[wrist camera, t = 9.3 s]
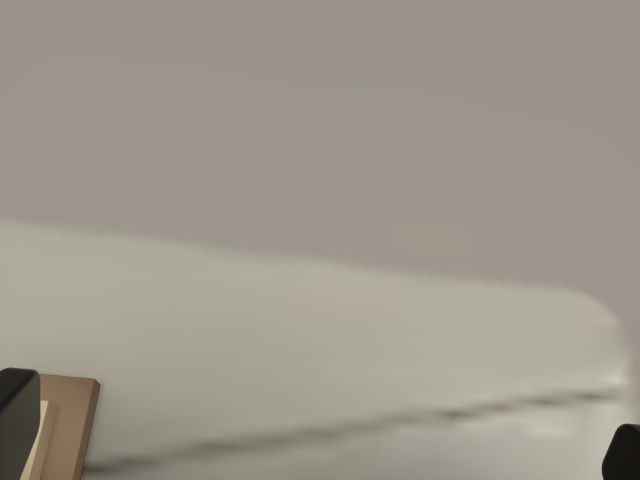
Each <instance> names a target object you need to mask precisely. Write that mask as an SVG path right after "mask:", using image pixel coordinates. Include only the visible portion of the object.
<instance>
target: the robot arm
mask: <svg viewBox="0 0 640 480" xmlns="http://www.w3.org/2000/svg"><path fill="white" fill-rule="evenodd" d="M40 419H41V381H40V375H39V373H38V372H37V371H36V370H31V369H21V368H6V369H4V370H2V371H0V480H20V478H21V475H22V473H23V470H24V468H25V465H26V463H27V460H28V457H29V455H30V452H31V450H32V447H33V445H34V442H35V439H36V437H37V434H38V430H39V426H40ZM602 476H603V479H604V480H640V425H637V424H623V425H621V426H619V427H618V428H617V430H616V432H615V434H614V436H613V439H612V441H611V443H610V446H609V448H608V450H607V453H606V455H605V457H604V460H603V463H602Z"/></svg>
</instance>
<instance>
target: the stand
mask: <svg viewBox="0 0 640 480" xmlns="http://www.w3.org/2000/svg"><path fill="white" fill-rule="evenodd" d="M39 375H40V381H41V419H40V426H39V430H38V434H37V437H36V439H35V442H34V445H33V447H32V450H31V452H30V455H29V457H28V460H27V463H26V465H25V468H24V470H23V473H22V475H21V478H20V480H80V477H81V472H82V467H83V463H84V458H85V453H86V449H87V444H88V439H89V435H90V430H91V425H92V421H93V416H94V411H95V407H96V402H97V397H98V393H99V388H100V384H99V383H98V382H97V381H96V380H95V379H90V378H79V377H67V376H56V375H45V374H39Z"/></svg>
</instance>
